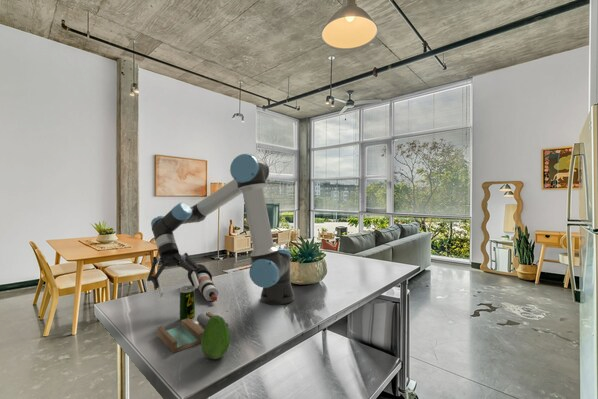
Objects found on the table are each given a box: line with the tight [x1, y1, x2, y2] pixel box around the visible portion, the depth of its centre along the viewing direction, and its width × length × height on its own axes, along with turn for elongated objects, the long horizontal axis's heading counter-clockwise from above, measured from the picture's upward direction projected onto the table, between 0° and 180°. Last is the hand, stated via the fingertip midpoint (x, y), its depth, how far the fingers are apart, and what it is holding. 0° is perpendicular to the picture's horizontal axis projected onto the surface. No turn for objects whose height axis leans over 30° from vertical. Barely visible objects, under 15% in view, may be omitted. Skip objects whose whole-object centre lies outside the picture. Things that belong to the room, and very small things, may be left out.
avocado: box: [200, 314, 231, 360], centre depth 79 cm, size 8×8×12 cm
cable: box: [187, 263, 219, 303], centre depth 133 cm, size 10×34×10 cm, turn 32°
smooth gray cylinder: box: [196, 313, 210, 327], centre depth 95 cm, size 9×3×3 cm, turn 44°
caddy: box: [157, 311, 229, 354], centre depth 92 cm, size 18×14×3 cm
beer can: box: [179, 285, 196, 322], centre depth 104 cm, size 5×5×12 cm
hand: (180, 290), depth 107 cm, fingers open, 13 cm apart
